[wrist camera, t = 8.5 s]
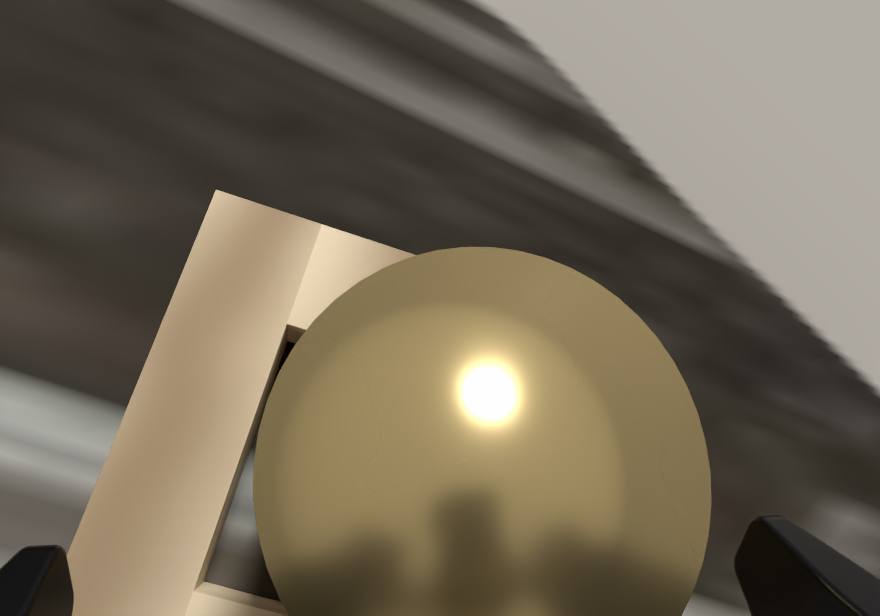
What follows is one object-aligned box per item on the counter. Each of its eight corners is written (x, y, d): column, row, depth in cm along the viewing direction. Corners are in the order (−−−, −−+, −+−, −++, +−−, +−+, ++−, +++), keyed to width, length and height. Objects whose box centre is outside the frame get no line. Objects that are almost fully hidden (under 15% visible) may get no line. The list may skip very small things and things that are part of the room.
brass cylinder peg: (473, 461, 20) (773, 393, 7) (391, 611, 18) (594, 834, 6) (338, 378, 20) (415, 167, 7) (245, 522, 18) (146, 565, 6)
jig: (613, 345, 21) (644, 330, 20) (525, 792, 18) (552, 827, 16) (223, 219, 20) (216, 189, 18) (41, 675, 16) (9, 697, 15)
